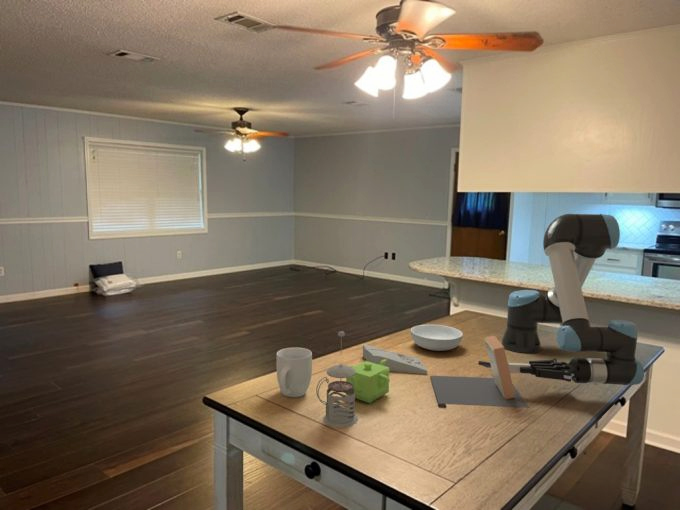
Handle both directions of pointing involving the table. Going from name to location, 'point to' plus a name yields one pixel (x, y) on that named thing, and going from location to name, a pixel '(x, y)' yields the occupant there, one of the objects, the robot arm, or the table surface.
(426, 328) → the serving bowl
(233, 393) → the table surface
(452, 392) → the mat
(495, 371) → the tile
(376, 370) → the teapot
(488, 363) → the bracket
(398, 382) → the table surface
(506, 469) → the table surface
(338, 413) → the french press
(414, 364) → the ramp
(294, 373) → the mug
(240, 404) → the table surface
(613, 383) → the robot arm
